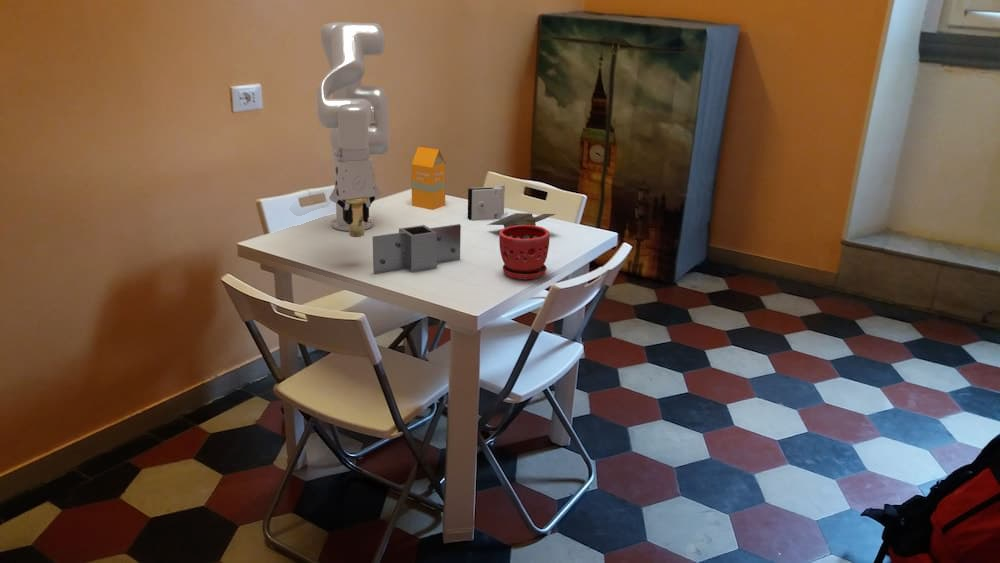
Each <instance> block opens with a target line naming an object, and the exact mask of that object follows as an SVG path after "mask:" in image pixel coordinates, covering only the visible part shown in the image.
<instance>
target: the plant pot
mask: <svg viewBox="0 0 1000 563" xmlns="http://www.w3.org/2000/svg"><path fill="white" fill-rule="evenodd" d="M525 235H528V236H527V237H528V238H525V237H526V236H525ZM498 236H499V237H498V240H499V241H498V243H499V252H500V256H501V259H502V262H503V263H504V264H503V265H502V271H503V273H504V274H505V275H506V276H508V277H510V278H514V279H518V280H522V281H524V280H533V279H537V278H539V277H542V276H544V275H545V273H546V272H547V270H548V269H547V266H546V265H545V262H546V261H547V258H548V254H549V253H548V252H549V247H550V232H549V230H548V229H546V228H545V227H542V226H538V225H536V226H533V225H516V226H510V227H506V228H504V227H503V228H502V229H501V230H500V231H499V234H498Z"/></svg>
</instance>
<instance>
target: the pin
mask: <svg viewBox="0 0 1000 563" xmlns="http://www.w3.org/2000/svg"><path fill="white" fill-rule="evenodd" d="M346 201H347V203H348V204H349V209H350V210H351V225H349V231H348V236H350V237H352V238H361V237H363V236H365V230H364V205H363V203H366V202H368V198H359V199H352V200H346ZM343 202H345V200H343Z"/></svg>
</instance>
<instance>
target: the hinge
mask: <svg viewBox="0 0 1000 563" xmlns="http://www.w3.org/2000/svg"><path fill="white" fill-rule="evenodd" d="M505 186H506V184H500V185H497V186H488V187H487V186H486V187H470V188H467V220H468V221H472V222H473V221H490V220H491V221H492V220H500V219H502V216H503V215H504V214H505V195H506V194H505V191H506V187H505Z"/></svg>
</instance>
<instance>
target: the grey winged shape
mask: <svg viewBox="0 0 1000 563" xmlns="http://www.w3.org/2000/svg"><path fill="white" fill-rule="evenodd" d="M555 215H557V213H542V214H540V215H537V216H533V212H532V213H530V212H529V213H527V212H525V213H521V212H519V213H518V212H516V213H513V214H510V215H508V216H505V217H503V218H502V217H501V218H500V219H497V220H495V221H493V222H490V223H488V224H487V226H503V229H504V228H506V227H510V226H516V225H533V226H537V225H536V223H537V222H541V221H543V220H545V219H548V218H549V217H553V216H555ZM524 237H529V236H528V235H525V236H524Z"/></svg>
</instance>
